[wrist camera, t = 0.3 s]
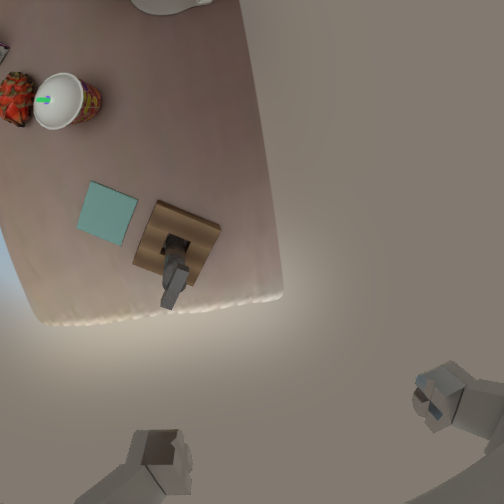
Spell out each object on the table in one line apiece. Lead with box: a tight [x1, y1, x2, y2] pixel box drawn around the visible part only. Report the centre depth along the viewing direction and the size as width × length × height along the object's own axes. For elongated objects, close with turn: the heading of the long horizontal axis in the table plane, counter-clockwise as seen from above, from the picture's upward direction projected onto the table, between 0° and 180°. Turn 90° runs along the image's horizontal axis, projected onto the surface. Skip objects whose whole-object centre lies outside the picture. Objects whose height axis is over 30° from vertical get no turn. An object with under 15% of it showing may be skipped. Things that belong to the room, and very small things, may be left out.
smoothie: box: [33, 73, 101, 130], centre depth 33 cm, size 8×8×20 cm
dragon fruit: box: [0, 72, 35, 127], centre depth 35 cm, size 8×8×12 cm
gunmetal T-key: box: [161, 234, 189, 310], centre depth 50 cm, size 7×4×18 cm, turn 151°
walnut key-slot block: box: [133, 200, 221, 286], centre depth 56 cm, size 13×13×3 cm
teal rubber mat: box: [77, 181, 138, 246], centre depth 52 cm, size 10×10×1 cm
